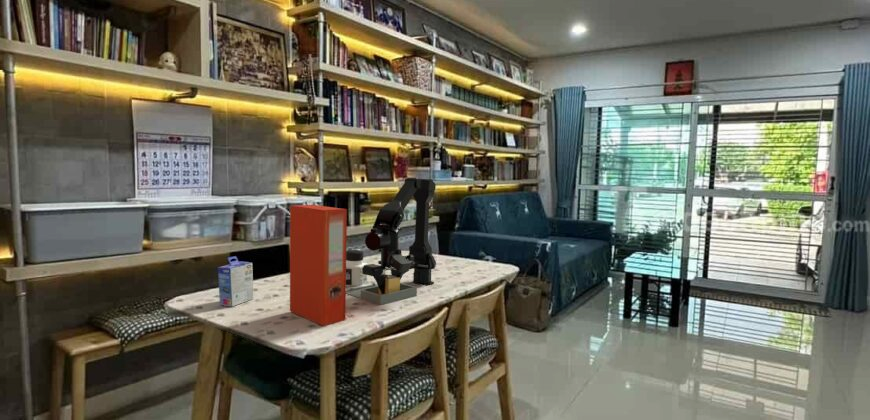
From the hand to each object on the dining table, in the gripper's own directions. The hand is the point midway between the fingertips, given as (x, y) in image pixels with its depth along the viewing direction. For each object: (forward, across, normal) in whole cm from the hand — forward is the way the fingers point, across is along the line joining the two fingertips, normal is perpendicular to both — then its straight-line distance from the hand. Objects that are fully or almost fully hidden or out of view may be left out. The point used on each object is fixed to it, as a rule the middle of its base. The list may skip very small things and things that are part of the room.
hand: (389, 292), depth 156 cm
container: (+2, +3, +23) cm, 23 cm away
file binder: (+2, -27, +1) cm, 27 cm away
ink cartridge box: (+2, -38, +30) cm, 48 cm away
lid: (+2, 0, +10) cm, 11 cm away
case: (+2, 0, 0) cm, 2 cm away
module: (+1, 0, 0) cm, 1 cm away
